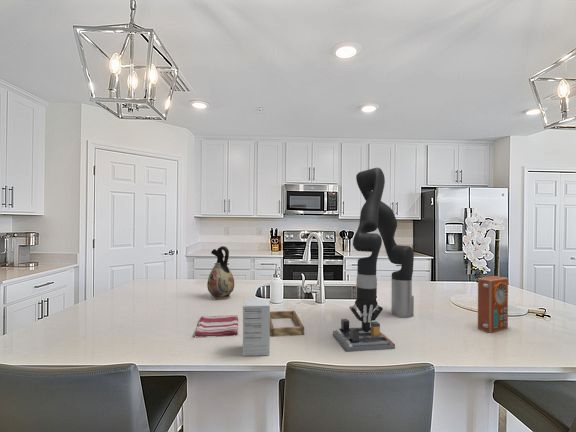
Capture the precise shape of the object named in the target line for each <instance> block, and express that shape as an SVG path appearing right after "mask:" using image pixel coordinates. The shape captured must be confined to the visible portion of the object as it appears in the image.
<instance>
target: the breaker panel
mask: <svg viewBox="0 0 576 432" xmlns="http://www.w3.org/2000/svg"><path fill="white" fill-rule="evenodd" d="M332 335H333V337H336V338H335V339H336V341H337V342H338V343H339V342H340V343H339V344H340V345H341V346H343V347H342V348H343V349H344V351H345V352H359V351H360V352H363V351H374V350H375V351H378V350H379V351H380V350H392V349H393V350H395V349H396V343H394V342H393V341H392V340H391V339H390V338H389V337H387V335H385V334H383V333H382V332H381V331H380V335H378V336H371V326H370V331H369V332H364V331H363V330H362V326H361V327H360V326H359V327H350V320H349V319H348V318H341V320H340V328H339V327H337V328H336V327H335V330H333V331H332Z"/></svg>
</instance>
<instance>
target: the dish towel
mask: <svg viewBox="0 0 576 432" xmlns="http://www.w3.org/2000/svg"><path fill="white" fill-rule="evenodd" d="M238 328H239V317H238V315H235V314H232V315H215V316H210V315H209V316H208V315H202V316H200V318H199V321H198V324H197V326H196V330H195V331H194V332H193V333H194V337H195V336H216V337H233V336H234V335H235V336H238V334H239V332H238V330H239V329H238ZM235 336H234V337H235Z"/></svg>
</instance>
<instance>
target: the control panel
mask: <svg viewBox="0 0 576 432" xmlns="http://www.w3.org/2000/svg"><path fill="white" fill-rule="evenodd" d="M508 310H509V278H508V277H504V276H498V275H493V276H492V275H491V276H485V277H479V278H477V330H480V331H483V332H487V333H491V334H492V333H494V332H495V333H496V332H500V331H502V330H503V331H504V330H506V329H508V327H509V326H508V325H509V323H508V322H509V314H508V313H509V311H508Z"/></svg>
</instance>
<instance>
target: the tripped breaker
mask: <svg viewBox="0 0 576 432" xmlns="http://www.w3.org/2000/svg"><path fill="white" fill-rule="evenodd" d="M370 327H371V336H378V335H380V332H381V331H380V328H381V324H380V322H378V321H371V322H370Z"/></svg>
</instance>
